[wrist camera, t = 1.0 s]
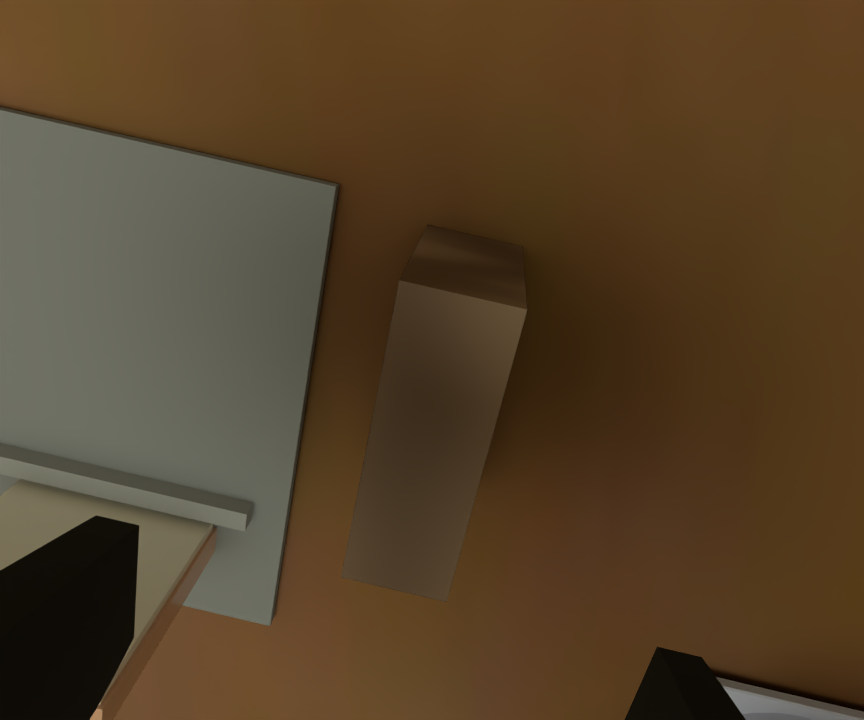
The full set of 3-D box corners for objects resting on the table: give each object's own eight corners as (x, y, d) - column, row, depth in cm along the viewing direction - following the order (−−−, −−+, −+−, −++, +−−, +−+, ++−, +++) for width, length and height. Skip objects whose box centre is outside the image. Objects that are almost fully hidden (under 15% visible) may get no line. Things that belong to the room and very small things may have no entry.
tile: (218, 519, 21) (103, 699, 15) (214, 551, 22) (101, 738, 16) (22, 473, 21) (-170, 634, 15) (23, 506, 22) (-163, 675, 16)
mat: (339, 184, 17) (330, 190, 16) (273, 617, 23) (263, 640, 22) (-58, 93, 17) (-89, 94, 16) (-27, 545, 23) (-49, 565, 22)
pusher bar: (522, 245, 18) (527, 309, 13) (460, 480, 20) (446, 602, 16) (427, 223, 18) (399, 280, 13) (378, 461, 20) (341, 577, 16)
